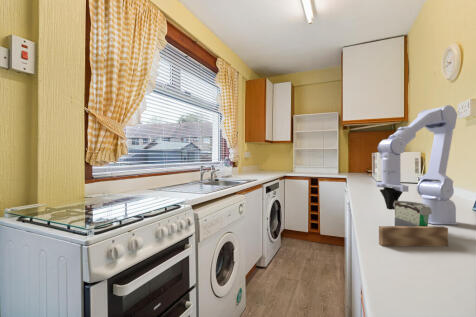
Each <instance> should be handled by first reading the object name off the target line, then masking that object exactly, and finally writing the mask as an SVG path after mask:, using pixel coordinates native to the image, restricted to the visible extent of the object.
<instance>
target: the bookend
mask: <svg viewBox="0 0 476 317" xmlns="http://www.w3.org/2000/svg"><path fill="white" fill-rule="evenodd" d="M394 226H419V225H416V224H414V223H411V222H408V221H405V220H402V219H400V218H395V217H394Z"/></svg>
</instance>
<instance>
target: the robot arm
mask: <svg viewBox="0 0 476 317" xmlns="http://www.w3.org/2000/svg"><path fill="white" fill-rule="evenodd" d="M457 119H458V113H457V111H456V109H455V108H454V107H453V106H452V105H450V104H448V105H444V106H440V107H435V108H429V109H423V110H421V111H420V112H419V113H417V117H416V118H415V119H414V120H412V121H411V123H410V124H409V125H408V126H399V127H398V128H397V130H396V131H395V132H394V133H393V134H391V135H389V136H388V138H387V139H382V140H381V141H380V142H379V143H378V146H377V151H378V153H379V157H380V160H381V181H376V183H375V185H376V186H375V187H376V188H383V189H379V192H380V193H381V195H382V196H383V199H384V203H385V207H386V209H387V210H395V207H393V204H394V201H399V199H400V197H401V195H402V194H403V192H405V193H407V192H408V193H409V185H406V184H401V183H402V182H401V180H402V179H401V175H402V174H401V154H403V153H404V152H405V149H406V146H407V145H408V144H409V143H410V142H411V141H413V140H414V139H415V138H416V135H417V134H416V133H417V132H419V131H420V130H422V129H423V128H425V129H426V130H427V131H429V132H430V133H432V134H433V136H434V137H433V141H432V146H431V150H430V151H431V152H430V158H429V162H428V168H427V172H426V173H424V174H423V175H422V176H420V178H419V181H418V183H417V184H416V192H417V194H418V195H419V196H420V198H422V202H421V203H422V204H426V205H429V207H430V208H431V212H432V214H430V215H429V219H428V224H430V225H459V223H458V222H457V221H456V220H457V207H456V204H455V202H454V201H453V200H451V198H452V197H453V195H454V192H455V191H454V190H455V189H454V187H453V186H454V180H453V179H451V178H450V177H449V176H448V175H447V168H448V163H449V158H450V150H451V144H452V140H453V134H454V129H456V126H457Z"/></svg>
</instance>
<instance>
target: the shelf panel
mask: <svg viewBox="0 0 476 317" xmlns="http://www.w3.org/2000/svg"><path fill="white" fill-rule="evenodd" d="M378 244H379V245H380V246H381V247H449V228H448V227H446V226H442V225H441V226H439V225H438V226H436V225H435V226H433V225H432V226H431V225H430V226H429V225H428V226H395V225H383V226H382V225H380V226H379V225H378Z"/></svg>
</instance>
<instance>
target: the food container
mask: <svg viewBox="0 0 476 317" xmlns="http://www.w3.org/2000/svg"><path fill="white" fill-rule="evenodd" d="M393 207H395V209H394V219H395V218H400V219H402V220H405V221H408V222H411V223H414V224H416V225H419V226H429V223H428V219H429V215H430V214H432V212H431V208H430V207H429V205H426V204H423V202H416V201H415V202H414V201H405V200H398V201H394V204H393Z"/></svg>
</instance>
